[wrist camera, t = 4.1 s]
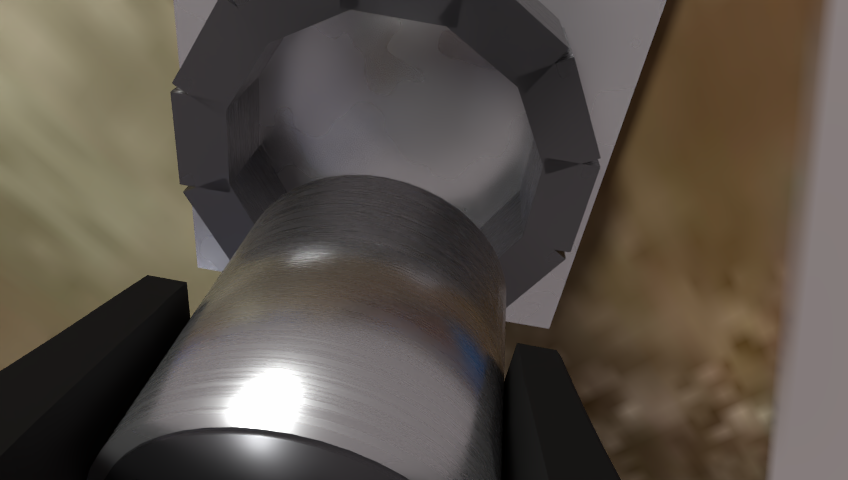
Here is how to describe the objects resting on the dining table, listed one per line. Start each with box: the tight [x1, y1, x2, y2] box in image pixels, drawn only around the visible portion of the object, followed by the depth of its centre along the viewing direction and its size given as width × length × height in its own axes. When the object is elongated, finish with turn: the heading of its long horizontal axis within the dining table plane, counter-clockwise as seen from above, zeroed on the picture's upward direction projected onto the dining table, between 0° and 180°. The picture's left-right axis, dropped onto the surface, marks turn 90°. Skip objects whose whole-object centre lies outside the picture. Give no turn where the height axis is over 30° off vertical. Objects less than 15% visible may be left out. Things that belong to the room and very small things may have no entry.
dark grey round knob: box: [87, 175, 506, 480], centre depth 9 cm, size 5×5×5 cm
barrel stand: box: [171, 0, 666, 329], centre depth 15 cm, size 11×11×3 cm
